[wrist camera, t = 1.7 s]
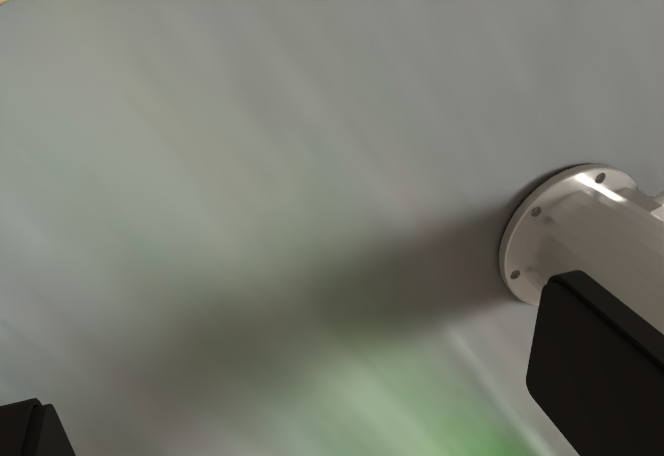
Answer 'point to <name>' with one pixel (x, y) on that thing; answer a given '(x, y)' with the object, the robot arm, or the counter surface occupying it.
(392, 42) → the counter surface
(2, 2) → the rail
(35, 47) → the counter surface
